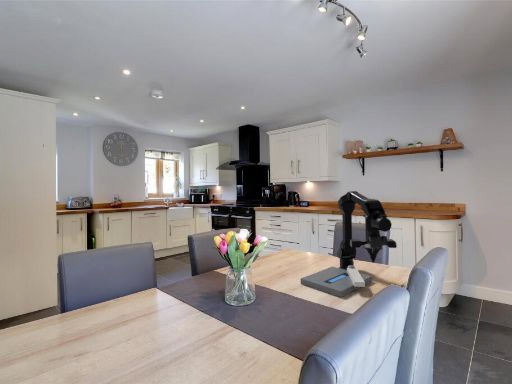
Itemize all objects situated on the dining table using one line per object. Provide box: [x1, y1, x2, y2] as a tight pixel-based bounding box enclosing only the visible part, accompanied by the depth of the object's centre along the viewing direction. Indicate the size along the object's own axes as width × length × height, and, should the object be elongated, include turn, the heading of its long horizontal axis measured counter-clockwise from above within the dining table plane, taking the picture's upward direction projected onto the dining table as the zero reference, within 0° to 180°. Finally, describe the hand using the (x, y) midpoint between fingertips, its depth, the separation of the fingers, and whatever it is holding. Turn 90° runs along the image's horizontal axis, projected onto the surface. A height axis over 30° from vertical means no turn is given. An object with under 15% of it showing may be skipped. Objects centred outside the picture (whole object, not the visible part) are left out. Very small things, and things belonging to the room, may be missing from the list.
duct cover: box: [347, 265, 366, 288], centre depth 128 cm, size 22×4×3 cm, turn 170°
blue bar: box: [328, 275, 347, 284], centre depth 130 cm, size 2×12×2 cm
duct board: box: [300, 266, 373, 298], centre depth 130 cm, size 22×26×2 cm
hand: (372, 262), depth 123 cm, fingers closed
